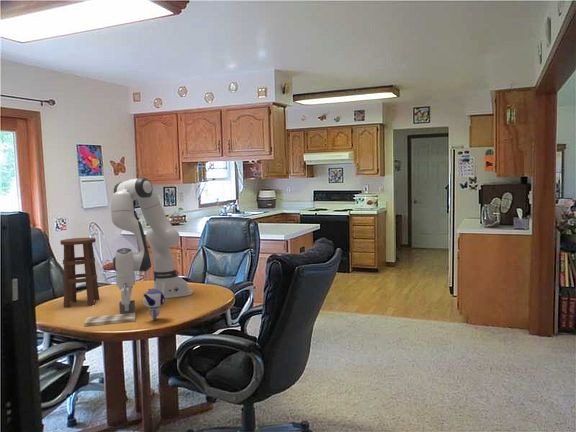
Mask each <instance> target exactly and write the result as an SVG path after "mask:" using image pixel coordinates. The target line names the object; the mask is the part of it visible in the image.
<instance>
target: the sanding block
mask: <svg viewBox="0 0 576 432" xmlns="http://www.w3.org/2000/svg"><path fill="white" fill-rule="evenodd" d="M135 304H136V301H135V299H134V300H131V299H130V304H129V311H125V306H124V305H122V300H120V301H119V314H127V313H136V305H135Z"/></svg>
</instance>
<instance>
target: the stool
mask: <svg viewBox="0 0 576 432" xmlns="http://www.w3.org/2000/svg"><path fill="white" fill-rule="evenodd" d="M59 242H60V245H62V246H63V260H62V265H63V278H62V282H63V308H64V309H68V308H71V306H72V303H75V302H77V301H78V300H77V284H81V283H82V284H83V283H85V285H86V286H85V287H86V299H87V301H86V302H87V306H88V307H94V306H95V302H97V301H100V293H99V292H100V291H99V285H98V274H97V268H96V257H95V252H94V245H93V243H96V238H95V237H75V238H74V237H73V238H66V239H61V240H60V241H59ZM76 245H77V246H78V245H82V251H83V252H82V253H83V256H76V254H75V253H76V252H75V246H76ZM78 265H84V273H79V274H78V273H76V266H78ZM94 300H95V301H94ZM96 300H97V301H96ZM93 305H94V306H93Z"/></svg>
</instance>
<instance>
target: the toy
mask: <svg viewBox="0 0 576 432" xmlns="http://www.w3.org/2000/svg"><path fill="white" fill-rule="evenodd" d="M142 298H143V299H142V303H143V305H144V306H145V307H147V308H148V313H149V315H150V316H151V318H152V320H153V321H156V320H157V319H158V318H157V317H158V316H159V315H160V313H161V306H163V305H164V303H165V302H166V299H165V297H164V295H163V293H162V292H161V291H160V290H158V289H154V288H148V290H147V291H146V292H145V293H143V297H142Z"/></svg>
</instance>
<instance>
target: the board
mask: <svg viewBox="0 0 576 432" xmlns="http://www.w3.org/2000/svg"><path fill="white" fill-rule="evenodd" d="M136 317H137V316H136V312H135V313H127V314H120V313H118V314H117V313H116V314H109V315H108V314H107V315H99V316H89V317H86V319H85V320H84V323H83V326H84V327H93V326H103V325H113V324H121V323H123V324H124V323H132V322H136Z"/></svg>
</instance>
